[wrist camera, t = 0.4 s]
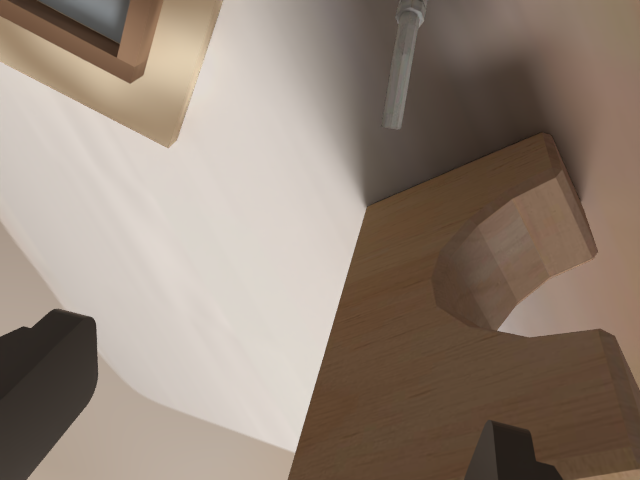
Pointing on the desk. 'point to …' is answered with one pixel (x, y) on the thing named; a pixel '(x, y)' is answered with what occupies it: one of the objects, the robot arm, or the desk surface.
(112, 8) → the tan wooden flat frame
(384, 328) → the decorative block
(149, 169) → the desk surface
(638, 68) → the desk surface
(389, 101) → the mate gourd
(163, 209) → the desk surface
